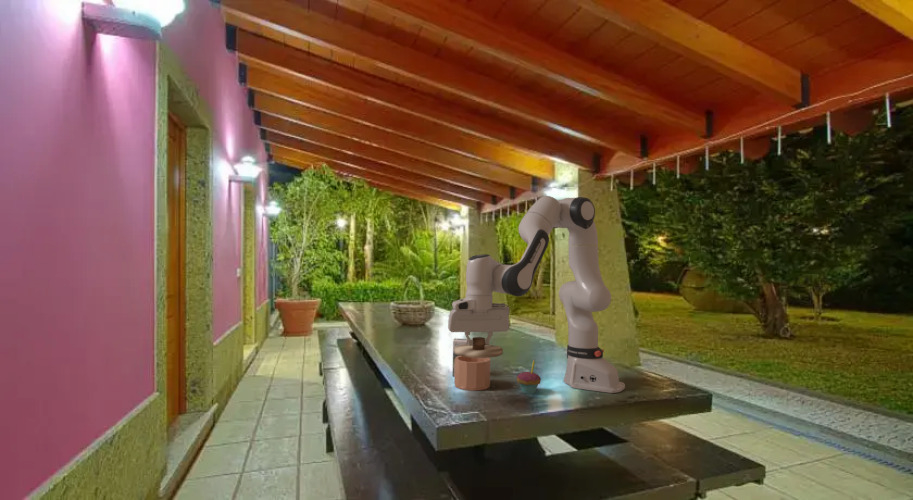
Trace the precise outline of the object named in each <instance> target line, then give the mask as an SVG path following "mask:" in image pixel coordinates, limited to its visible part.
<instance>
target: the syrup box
mask: <svg viewBox="0 0 913 500" xmlns="http://www.w3.org/2000/svg"><path fill="white" fill-rule="evenodd" d="M467 344H468V339H467V338H456V337H455V338H453V340H452V372H451V373H452V377H454V378H455V358H456V357H457V356H460V355H457V354H455V353H454V348H455V347H457V346H460V345H467Z"/></svg>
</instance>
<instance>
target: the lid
mask: <svg viewBox="0 0 913 500" xmlns="http://www.w3.org/2000/svg"><path fill="white" fill-rule="evenodd" d="M485 339H486V338H485V337H482V336H474V337H473V338H472V340H473V346H469V345H468V344H467V345H460V346H457V347H455V348H454V353H455V354H457V355H460V356H464V357H472V358H490V359H491V358H497V357H499V356H502V355H503V354H504V348H502V347H500V346H498V345H493V344H489V345H485Z"/></svg>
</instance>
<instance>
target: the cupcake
mask: <svg viewBox="0 0 913 500" xmlns="http://www.w3.org/2000/svg"><path fill="white" fill-rule="evenodd" d="M535 360H536V359H535V358H534V359H533V361H532V364H531V371H523V372H520V373H519V374H517V376H516V382H517V383H518V384H519V386H520V389H521V392H522V393H524V394H528V395H530V394H531V395H532V394H535V393H536V391H537V388H538V385H540V384H541V379H542V378H541V376H539V374H537V373H535V372H534V369H535V368H534V367H535V362H536V361H535Z"/></svg>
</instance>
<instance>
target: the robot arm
mask: <svg viewBox="0 0 913 500" xmlns="http://www.w3.org/2000/svg"><path fill="white" fill-rule="evenodd" d="M595 215H596V208H595V205H594V204H593V202H592V201H591V199H590V198H588V197H584V196H577V197H566V198H565V197H564V198H562V199H558V200H557V199H556V198H555V197H553V196H550V195H544V196H541V197H540V198H538V199H537V200H536V201H535V202H534V203H533V204H532V205H531V206H530V207H529V209H528V210H527V211H526V213H525V214H524V216H523V217H522V218H521V221H520V222H519V225H518V234H519V235H520V238H521V239H522V240H523V241H524V242H525V243H526V244H527V246H526V248H525V250H524V253H523V254H522V256H521V258H520V260H519V261H518V262H516V263H514V264H503V263H501V262H499V261H497V260H496V259H494V258H493V257H492V256H491V255H490V254H487V253H486V254H475V255H473V256H470V257H469V258H468V260H467V265H466V270H465V271H466V272H465V282H466V283H465V284H466V291H465V297H463V298H461V299H457V300H455V301H454V300H453V301H452V303H451V307H452V309H451V310H450V312H449V315H448V322H447V324H448V325H447V328H448V331H449V332H451V333H464V336H465V339H468V345H469V346H473V339H471V338H470V336H471V333H486V334H487V337H486V338H485V345H490V341H491V339H492V337H493V335H494V334H493V333H494V332H495V333H496V332H502V333H503V332H504V333H506V332H508V331H510V330H509V329H510V318H509V315H510V307H509V305H508V304H506V303H503V302H502V303H498V302H497V303H493V292H495V293H500V294H507V295H511V296H515V297H522V296H524V295H526V294H527V293H528V292H529V291H530V289H531V287H532V285H533V281H534V277H535V273H536V272H537V269H538V267H539V265H540V263H541V261H542V259H543V257H544V254H545V253H546V251H547V248H548V246H549V242H550V238H549V237H550V234H551V232H552V230H553V229H567V231H568V266H569V269H570V270H571V271H572V273H573V277H574V280H570V281H567V282H565V283H563V284H562V285H561V287H560V288H559V290H558V296H559V297H558V298H559V300H560V301H561V302H562V305H563V308H564V310H565V314H566V320H567V325H568V328H567V329H568V335H567V336H568V342H567V343H568V344H567V346H566V359H567V362H566V364H567V365H566V369H565V373H564V374H565V375H564V377H563V382H564V383H565V384H566V385H569V387H570V388H572V389H579V390H585V391H586V390H587V391H594V392H602V393H609V394H613V393H614V394H615V393H620V392H622V391H624V390H625V389H626V384H625V382H623V381H620V378H619V372H618V370H617V369H616V367H614V366H613V365H612V364H611V363H610V362H608V361H607V360H606V359H605V358H604V353H605V349H604V348H600V347H599V326H598V324H597V323H596V321H595V318H594V317H593V313H596V312H597V313H598V312H602V311H605V310H606V309H608V307H609V306H610V304H611V302H612V294H611V291H610V289H608V287H607V286H606V284H605V282H604V280H603V277H602V274H601V270H600V264H599V263H600V262H599V240H598V231H597V225H596V222H595V221H594V220H595Z"/></svg>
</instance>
